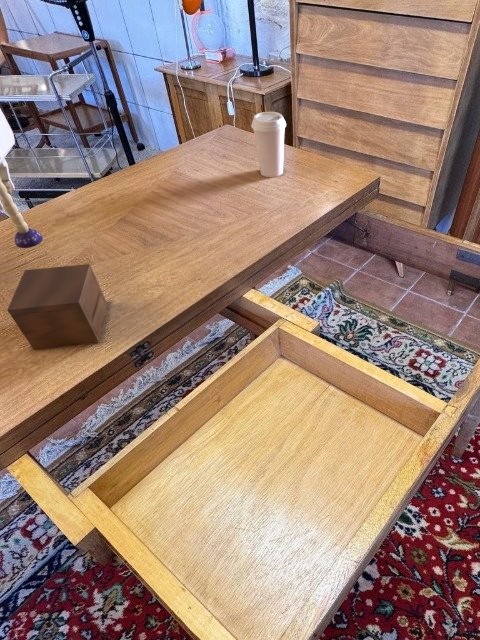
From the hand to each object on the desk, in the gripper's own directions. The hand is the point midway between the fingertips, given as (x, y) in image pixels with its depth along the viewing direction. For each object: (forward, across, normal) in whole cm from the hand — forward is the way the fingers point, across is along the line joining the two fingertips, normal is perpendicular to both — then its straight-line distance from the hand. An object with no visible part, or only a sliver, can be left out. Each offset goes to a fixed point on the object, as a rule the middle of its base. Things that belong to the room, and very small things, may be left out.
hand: (4, 200), depth 68 cm
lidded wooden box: (+26, 0, 0) cm, 26 cm away
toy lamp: (+7, 0, 0) cm, 7 cm away
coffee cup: (+26, -62, +46) cm, 81 cm away
